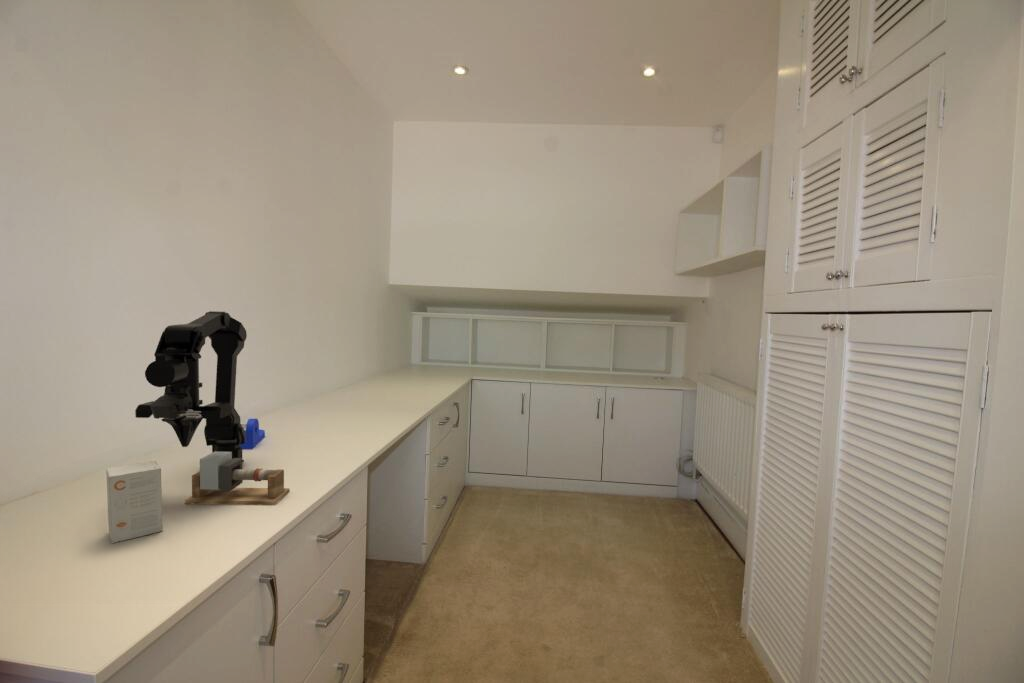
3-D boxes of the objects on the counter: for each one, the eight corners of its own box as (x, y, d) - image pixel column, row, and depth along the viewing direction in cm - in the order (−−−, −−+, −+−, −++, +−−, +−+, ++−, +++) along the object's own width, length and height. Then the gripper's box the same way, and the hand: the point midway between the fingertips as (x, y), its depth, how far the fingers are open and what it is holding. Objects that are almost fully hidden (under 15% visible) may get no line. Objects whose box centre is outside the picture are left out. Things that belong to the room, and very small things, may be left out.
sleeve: (200, 489, 112) (199, 459, 111) (214, 480, 118) (214, 451, 117) (218, 489, 112) (217, 459, 111) (231, 480, 118) (231, 451, 117)
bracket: (253, 449, 153) (253, 421, 153) (223, 450, 151) (223, 421, 151) (267, 434, 171) (267, 409, 170) (241, 435, 169) (241, 409, 168)
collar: (220, 491, 112) (220, 466, 112) (234, 482, 118) (233, 457, 118) (229, 491, 112) (229, 466, 112) (242, 482, 118) (242, 458, 118)
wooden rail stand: (185, 503, 111) (184, 473, 110) (205, 490, 119) (205, 462, 118) (275, 504, 112) (274, 474, 111) (289, 491, 120) (289, 463, 119)
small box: (158, 521, 102) (156, 459, 101) (163, 531, 97) (161, 467, 96) (107, 532, 96) (105, 467, 95) (110, 544, 92) (108, 476, 91)
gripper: (115, 384, 104) (117, 456, 106) (205, 386, 105) (206, 457, 106) (151, 377, 116) (153, 442, 117) (232, 379, 116) (233, 443, 117)
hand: (185, 446), depth 114 cm, fingers closed
